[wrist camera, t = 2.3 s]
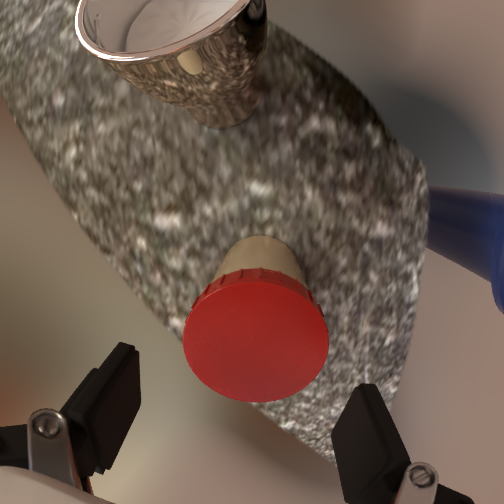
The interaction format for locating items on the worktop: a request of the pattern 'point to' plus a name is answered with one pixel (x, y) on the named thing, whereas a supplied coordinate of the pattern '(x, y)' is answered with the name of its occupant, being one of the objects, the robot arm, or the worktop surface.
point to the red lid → (256, 336)
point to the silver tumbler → (182, 51)
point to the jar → (261, 257)
